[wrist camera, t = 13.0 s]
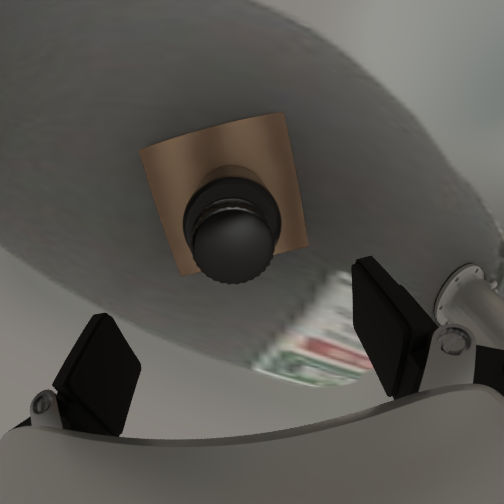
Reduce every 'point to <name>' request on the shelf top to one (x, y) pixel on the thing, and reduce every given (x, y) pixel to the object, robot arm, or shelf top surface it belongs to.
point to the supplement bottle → (232, 225)
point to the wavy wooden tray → (221, 154)
